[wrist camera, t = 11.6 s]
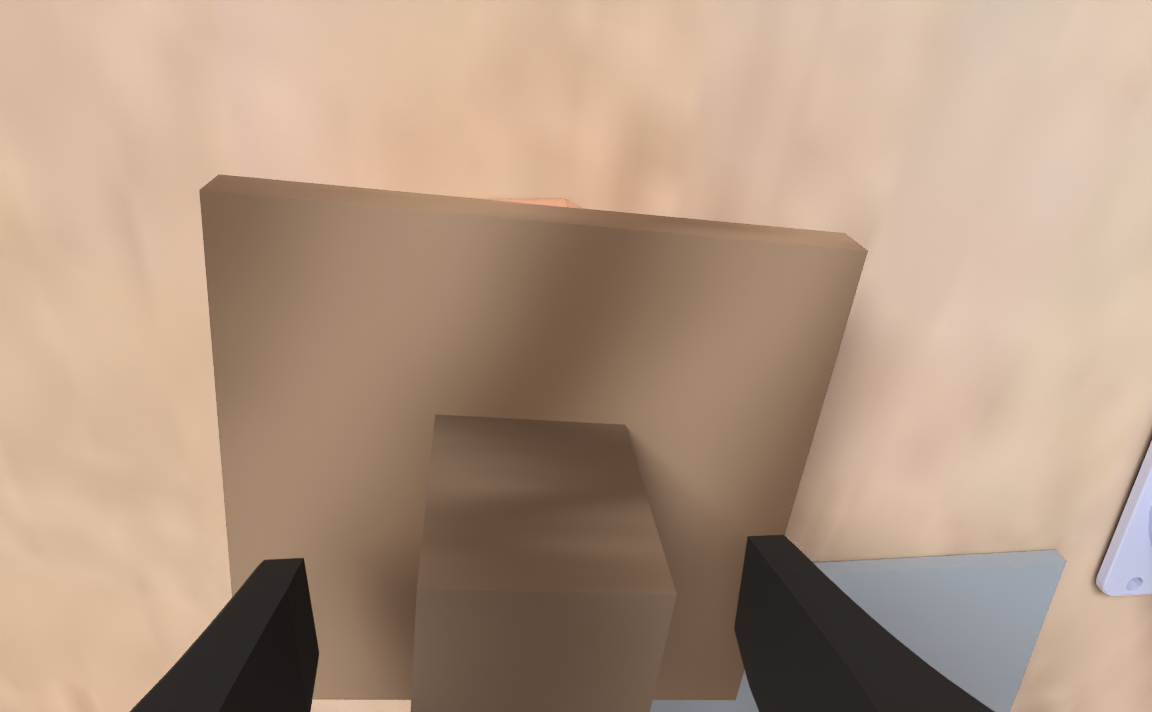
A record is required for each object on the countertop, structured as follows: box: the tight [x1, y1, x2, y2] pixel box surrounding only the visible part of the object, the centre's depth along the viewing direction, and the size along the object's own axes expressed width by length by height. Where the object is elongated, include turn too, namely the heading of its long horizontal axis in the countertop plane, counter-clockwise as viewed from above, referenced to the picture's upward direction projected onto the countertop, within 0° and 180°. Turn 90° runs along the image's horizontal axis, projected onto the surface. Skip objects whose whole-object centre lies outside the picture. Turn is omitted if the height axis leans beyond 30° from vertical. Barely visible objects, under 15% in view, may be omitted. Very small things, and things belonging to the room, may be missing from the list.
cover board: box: [200, 175, 868, 712], centre depth 14 cm, size 11×11×6 cm
